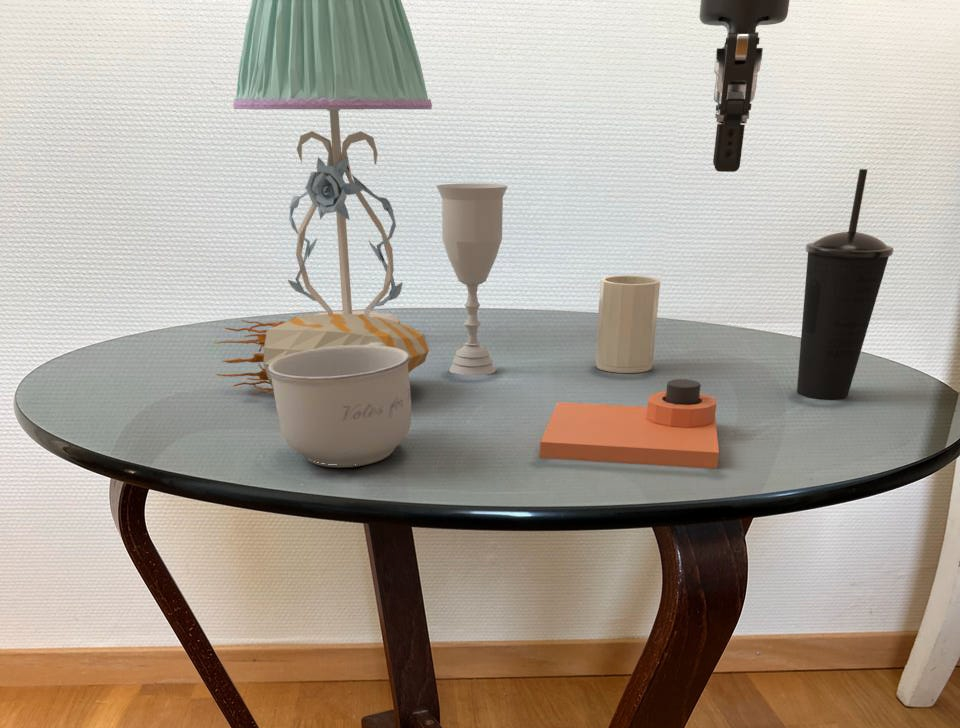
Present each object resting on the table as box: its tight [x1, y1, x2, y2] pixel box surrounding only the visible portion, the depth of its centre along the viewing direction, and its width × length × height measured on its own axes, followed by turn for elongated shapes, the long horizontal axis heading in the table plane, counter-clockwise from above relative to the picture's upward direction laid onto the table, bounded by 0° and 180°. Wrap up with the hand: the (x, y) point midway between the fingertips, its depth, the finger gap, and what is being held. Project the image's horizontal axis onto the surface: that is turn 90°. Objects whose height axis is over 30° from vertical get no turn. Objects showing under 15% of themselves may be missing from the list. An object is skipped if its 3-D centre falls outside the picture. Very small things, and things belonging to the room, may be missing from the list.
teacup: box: [268, 342, 412, 468], centre depth 75 cm, size 14×11×8 cm
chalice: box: [436, 182, 509, 376], centre depth 97 cm, size 7×7×18 cm
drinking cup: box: [796, 168, 894, 401], centre depth 88 cm, size 8×8×20 cm
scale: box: [539, 391, 720, 469], centre depth 79 cm, size 14×12×3 cm
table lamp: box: [232, 0, 433, 323], centre depth 106 cm, size 22×22×40 cm
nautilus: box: [213, 313, 430, 396], centre depth 91 cm, size 8×22×15 cm
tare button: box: [665, 378, 702, 405], centre depth 80 cm, size 3×3×2 cm
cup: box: [595, 274, 661, 374], centre depth 101 cm, size 6×6×9 cm
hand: (725, 169), depth 88 cm, fingers open, 8 cm apart
